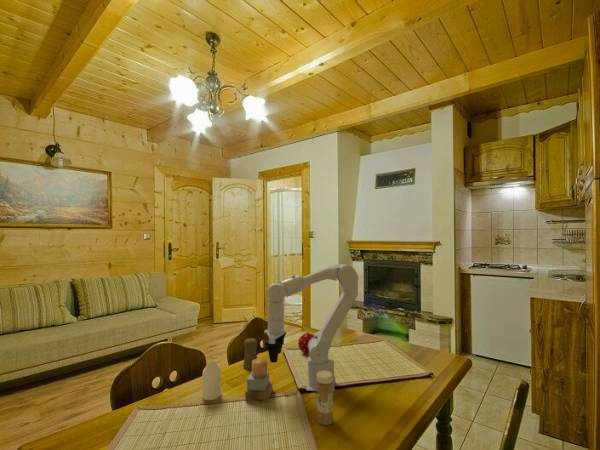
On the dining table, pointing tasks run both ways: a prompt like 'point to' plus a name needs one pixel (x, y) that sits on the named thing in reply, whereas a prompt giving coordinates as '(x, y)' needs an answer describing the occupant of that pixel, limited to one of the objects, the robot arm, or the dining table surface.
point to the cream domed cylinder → (211, 381)
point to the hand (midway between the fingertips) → (275, 357)
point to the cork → (249, 353)
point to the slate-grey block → (257, 383)
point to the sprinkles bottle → (325, 397)
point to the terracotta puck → (259, 368)
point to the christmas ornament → (305, 342)
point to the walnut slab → (259, 394)
